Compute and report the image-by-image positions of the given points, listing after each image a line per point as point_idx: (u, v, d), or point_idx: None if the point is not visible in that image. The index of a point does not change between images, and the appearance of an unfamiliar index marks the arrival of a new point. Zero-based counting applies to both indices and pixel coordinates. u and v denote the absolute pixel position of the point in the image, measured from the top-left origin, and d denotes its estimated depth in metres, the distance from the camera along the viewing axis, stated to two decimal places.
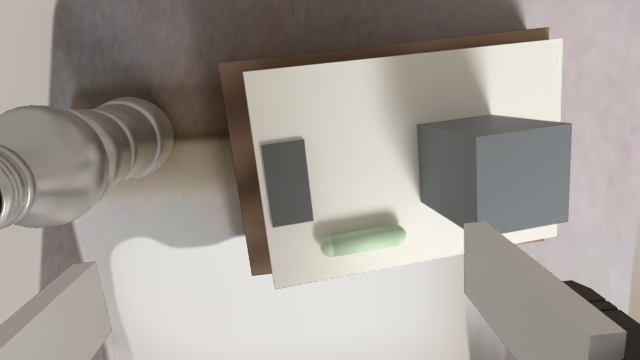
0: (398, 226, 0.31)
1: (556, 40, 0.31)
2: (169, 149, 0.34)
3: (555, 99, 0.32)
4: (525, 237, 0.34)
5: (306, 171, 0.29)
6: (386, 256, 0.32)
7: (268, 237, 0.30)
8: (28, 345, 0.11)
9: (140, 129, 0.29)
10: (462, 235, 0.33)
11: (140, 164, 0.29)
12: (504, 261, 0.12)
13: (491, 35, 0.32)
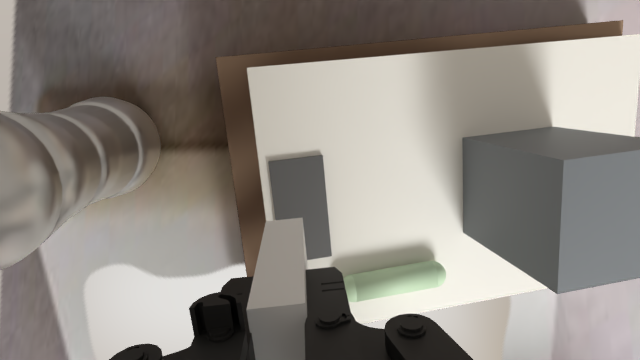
0: (437, 264, 0.25)
1: (635, 36, 0.25)
2: (154, 161, 0.28)
3: (630, 109, 0.26)
4: None
5: (324, 194, 0.23)
6: (419, 298, 0.26)
7: None
8: None
9: (115, 138, 0.23)
10: (511, 273, 0.27)
11: (115, 182, 0.23)
12: (281, 250, 0.14)
13: (552, 29, 0.26)
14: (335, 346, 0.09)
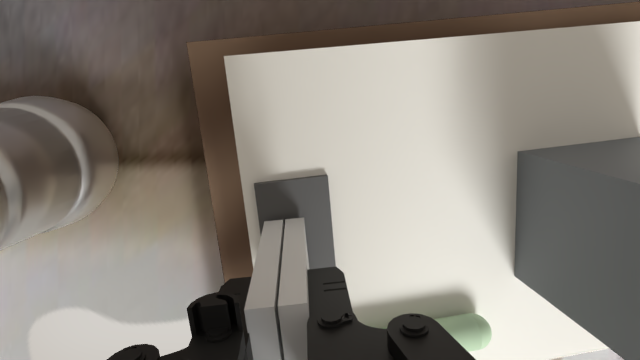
0: (479, 319, 0.19)
1: None
2: (108, 182, 0.21)
3: None
4: None
5: (330, 228, 0.17)
6: None
7: None
8: (280, 275, 0.13)
9: (39, 155, 0.16)
10: (575, 327, 0.21)
11: (40, 217, 0.17)
12: (283, 250, 0.14)
13: None
14: (338, 345, 0.09)
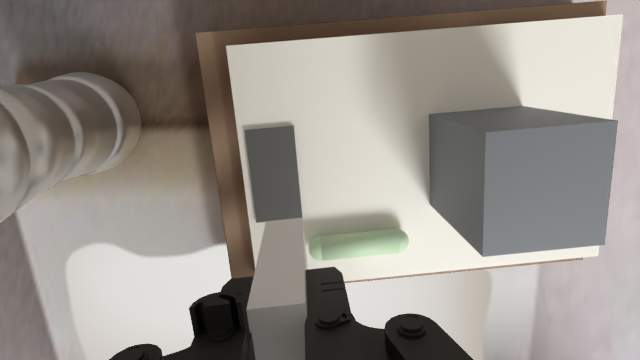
0: (400, 231, 0.27)
1: (614, 16, 0.25)
2: (134, 139, 0.27)
3: (607, 90, 0.26)
4: (558, 254, 0.29)
5: (295, 162, 0.26)
6: (386, 264, 0.28)
7: (251, 233, 0.27)
8: None
9: (91, 113, 0.23)
10: None
11: (91, 157, 0.23)
12: (281, 250, 0.14)
13: (535, 8, 0.26)
14: (335, 346, 0.09)
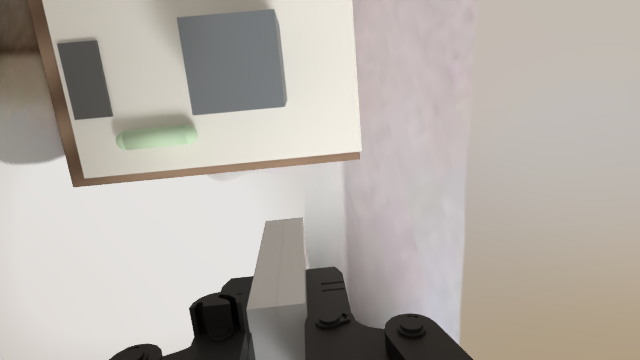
0: (187, 125, 0.34)
1: None
2: None
3: (346, 12, 0.33)
4: (328, 150, 0.36)
5: (100, 69, 0.33)
6: (187, 157, 0.36)
7: (73, 129, 0.34)
8: None
9: None
10: (261, 142, 0.36)
11: None
12: (281, 250, 0.14)
13: None
14: (335, 346, 0.09)
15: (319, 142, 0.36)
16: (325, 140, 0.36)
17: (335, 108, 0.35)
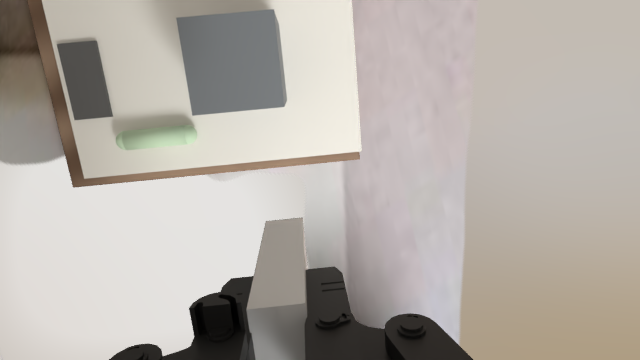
0: (187, 126, 0.34)
1: None
2: None
3: (346, 12, 0.33)
4: (327, 150, 0.36)
5: (100, 69, 0.33)
6: (186, 157, 0.36)
7: (73, 130, 0.34)
8: None
9: None
10: (261, 142, 0.36)
11: None
12: (281, 250, 0.14)
13: None
14: (335, 346, 0.09)
15: (319, 142, 0.36)
16: (324, 140, 0.36)
17: (334, 108, 0.35)
